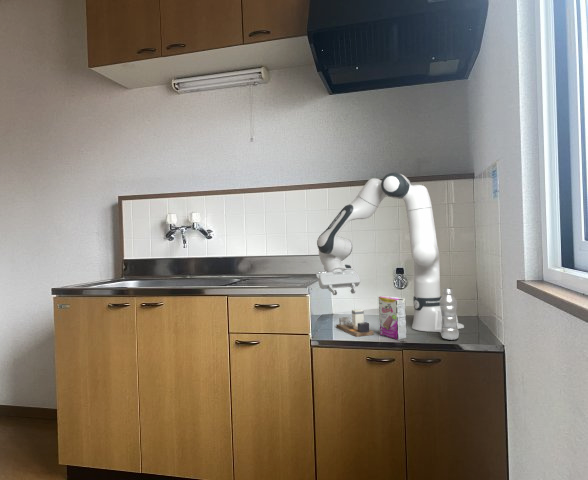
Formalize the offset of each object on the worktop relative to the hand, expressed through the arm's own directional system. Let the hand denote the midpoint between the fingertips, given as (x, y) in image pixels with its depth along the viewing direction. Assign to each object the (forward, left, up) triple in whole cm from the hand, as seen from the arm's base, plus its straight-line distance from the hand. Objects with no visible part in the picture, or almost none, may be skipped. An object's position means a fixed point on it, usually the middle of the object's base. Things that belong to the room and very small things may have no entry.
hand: (344, 293), depth 193 cm
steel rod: (0, +9, -14) cm, 17 cm away
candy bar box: (-9, +25, -16) cm, 31 cm away
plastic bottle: (-26, +39, -16) cm, 50 cm away
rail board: (0, +8, -16) cm, 18 cm away
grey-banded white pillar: (0, +12, -14) cm, 19 cm away
